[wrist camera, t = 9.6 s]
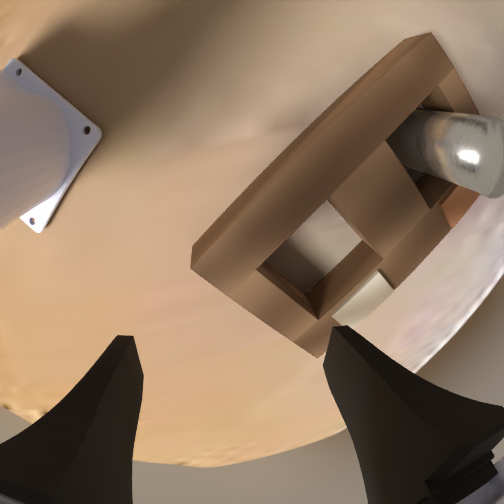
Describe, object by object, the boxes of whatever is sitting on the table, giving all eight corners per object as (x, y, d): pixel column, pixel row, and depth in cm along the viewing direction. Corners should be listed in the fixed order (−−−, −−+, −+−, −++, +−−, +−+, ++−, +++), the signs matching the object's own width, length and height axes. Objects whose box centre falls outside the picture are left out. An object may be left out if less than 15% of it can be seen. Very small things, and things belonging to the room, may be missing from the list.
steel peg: (375, 123, 17) (466, 136, 10) (416, 101, 16) (507, 107, 9) (397, 176, 18) (483, 212, 11) (435, 151, 18) (520, 177, 11)
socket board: (192, 246, 19) (190, 270, 16) (404, 39, 14) (433, 31, 11) (305, 332, 23) (318, 361, 20) (474, 157, 19) (503, 165, 16)
